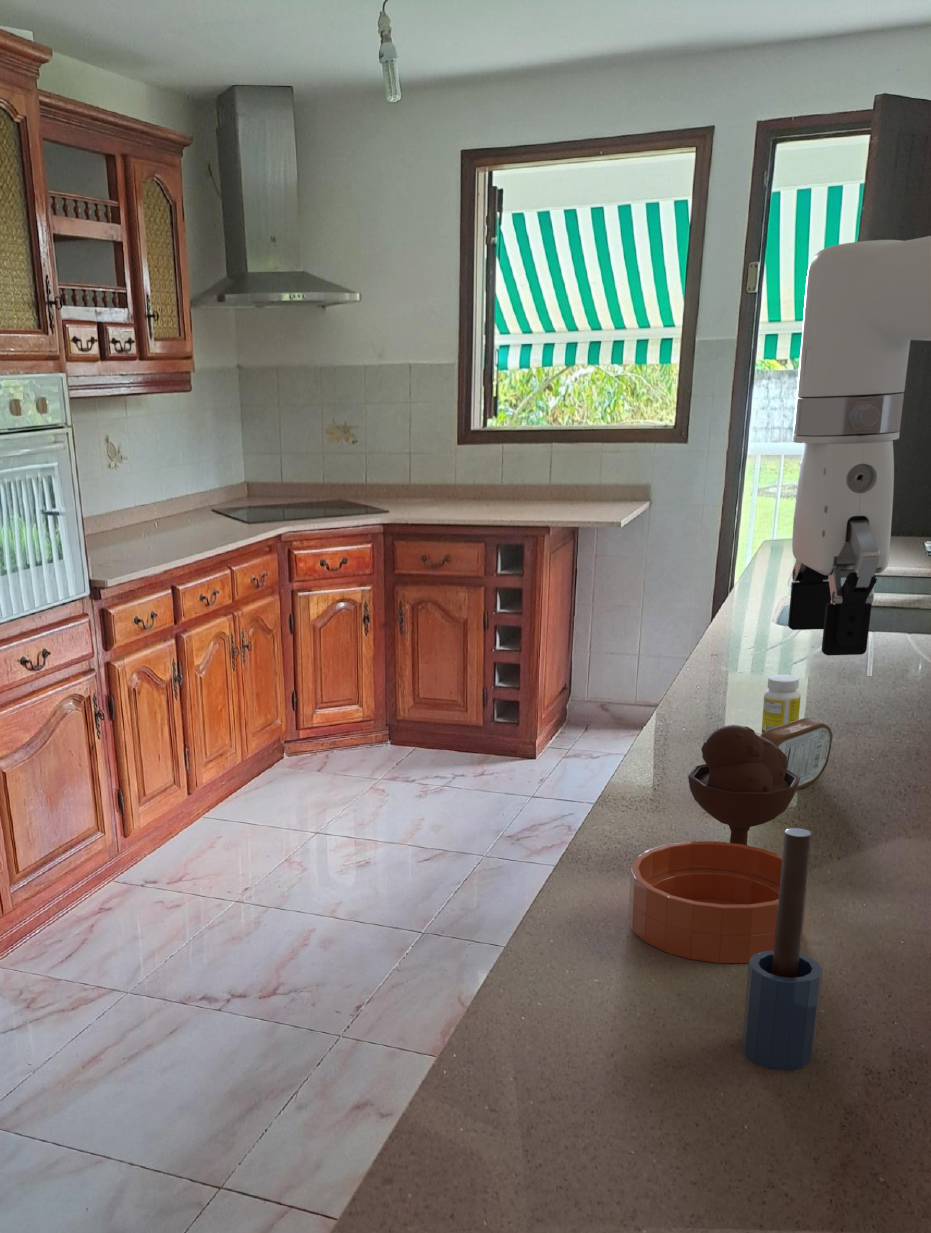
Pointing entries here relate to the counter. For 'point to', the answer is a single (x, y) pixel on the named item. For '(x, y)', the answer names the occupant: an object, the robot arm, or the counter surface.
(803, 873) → the stirring stick
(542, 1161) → the counter surface
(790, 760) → the tin
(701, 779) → the ice cream bowl
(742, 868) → the mixing bowl
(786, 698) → the supplement bottle
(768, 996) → the utensil pot
